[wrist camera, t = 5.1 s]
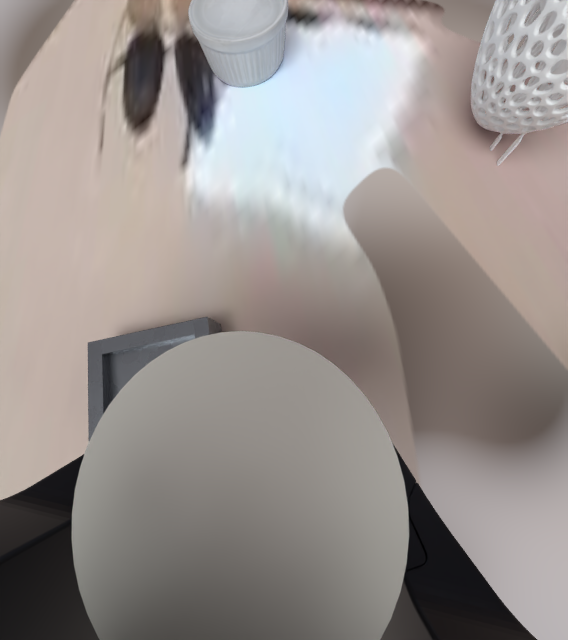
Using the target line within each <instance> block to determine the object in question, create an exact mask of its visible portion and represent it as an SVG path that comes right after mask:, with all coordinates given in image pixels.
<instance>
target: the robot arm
mask: <svg viewBox="0 0 568 640" xmlns="http://www.w3.org/2000/svg"><path fill="white" fill-rule="evenodd" d="M392 444H393V443H392ZM393 446H394V445H393ZM394 449H395V451H396V454H397V456H398V460H399V464H400V468H401V471H402V475H403V479H404V483H405V490H406V496H407V503H408V516H409V542H408V553H407V564H406V569H405V573H404V578H403V583H402V587H401V592H400V595H399V597H398V600H397V603H396V606H395V609H394V612H393V614H392V617H391V620H390V622H389V624H388V625H387V627H386V629H385V631H384V633H383V635H382V637H381V639H380V640H537V639H536V638H535V637H534V636H533V635H532V634H531V633H530V632H529V631H528V630H526V628H525V627H524V626H523V625H522V624H521V623H520V622H519V621H518V620H517V619H516V618H515V616H514V615H513V614H512V613H511V612H510V611H509V609H508V608H507V607H506V606H505V605H504V603H503V602H502V601H501V600H500V599H499V597H498V596H497V594H496V593H495V592H494V590H493V589H492V588H491V587H490V585H489V584H488V582H487V581H486V580H485V578H484V577H483V575H482V574H481V573H480V572H479V570H478V569H477V567H476V566H475V565H474V563H473V562H472V561H471V559H470V558H469V557H468V555H467V554H466V553H465V551H464V550H463V548H462V547H461V546H460V544H459V543H458V542H457V540H456V539H455V538H454V536H453V535H452V534H451V532H450V531H449V530H448V528H447V527H446V525H445V524H444V522H443V521H442V520H441V518H440V517H439V515H438V514H437V512H436V511H435V509H434V508H433V506H432V505H431V503H430V502H429V500H428V499H427V497H426V496H425V494H424V493H423V491H422V489H421V488H420V486H419V484H418V483H416V480H415V478H414V477H413V475H412V473H411V472H410V470H409V469H408V467H407V465H406V464H405V462H404V461H403V459H402V457H401V456H400V454H399V453H398V451H397V450H396V448H395V446H394ZM83 457H84V455H82V456H80V457H79V458H77V459H75V460H74V461H72V462H71V463H69V464H67V465H66V466H64V467H62V468H61V469H59V470H57V471H56V472H54V473H52V474H51V475H49V476H47V477H46V478H44V479H42V480H41V481H39V482H37V483H36V484H34V485H32V486H31V487H29V488H27V489H25V490H23V491H21V492H19V493H17V494H15V495H13V496H10V497H8V498H6V499H3V500H0V640H100V639H99V638H98V636H97V634H96V632H95V629H94V627H93V625H92V623H91V621H90V619H89V617H88V615H87V612H86V609H85V606H84V603H83V600H82V597H81V594H80V591H79V586H78V582H77V577H76V572H75V567H74V560H73V549H72V509H73V501H74V493H75V487H76V483H77V479H78V474H79V470H80V466H81V463H82V460H83Z"/></svg>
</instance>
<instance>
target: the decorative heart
mask: <svg viewBox="0 0 568 640" xmlns="http://www.w3.org/2000/svg"><path fill="white" fill-rule="evenodd" d="M532 8H533V9H532ZM538 9H539V10H538ZM531 10H532V11H531ZM537 10H538V11H537ZM530 11H531V14H530V15H529V18H528V19H527V21H526V22H525V19H526V17H527V15H528V14H529V12H530ZM536 11H537V12H536ZM535 12H536V14H535V15H534V13H535ZM539 14H540V15H539ZM533 15H534V16H533ZM538 15H539V16H538ZM537 17H538V18H537ZM510 18H511V22H510V25H509V28H508V30H507V32H506V29H507V25H508V23H509V20H510ZM536 18H537V19H536ZM535 19H536V20H535ZM534 20H535V21H534ZM513 34H514V39H513V40H512V42H511V43H510V44H509V45H508V39H509V37H510V36H512V35H513ZM525 36H526V37H525ZM524 37H525V40H524V42H523V44H522V46H521V47H520V48H519V49H517V47H518V45H519V43H520V41H521V40H522V39H523V38H524ZM541 41H542V42H541ZM555 45H556V46H555ZM554 47H555V48H554ZM553 48H554V50H553ZM552 50H553V51H552ZM541 51H542V52H541ZM551 51H552V52H551ZM540 52H541V53H540ZM539 53H540V54H539ZM538 54H539V55H538ZM518 55H519V56H518ZM490 56H491V58H490ZM489 58H490V60H489ZM496 59H497V60H496ZM506 59H507V60H508V61H506V63H505V64H504V62H505V60H506ZM519 62H520V64H519V65H518V66H517V67H516V65H517V64H518V63H519ZM538 62H540V64H539V65H538V67H537V69H536V68H535V65H536V63H538ZM503 64H504V66H503ZM523 65H524V66H523ZM515 67H516V68H515ZM525 68H526V70H525ZM485 70H486V73H487V75H486V78H485V80H484V75H485ZM524 70H525V71H524ZM523 71H524V72H523ZM522 72H523V73H522ZM493 76H494V81H493V83H492V84H491V80H492V77H493ZM528 77H531V78H530V80H529V82H528V83H527V85H525V84H524V82H525V80H526V78H528ZM535 77H536V78H535ZM534 79H535V80H534ZM533 80H534V81H533ZM564 82H568V0H496V1H495V3H494V6H493V9H492V11H491V14H490V16H489V19H488V22H487V25H486V27H485V31H484V34H483V37H482V41H481V44H480V47H479V51H478V55H477V58H476V62H475V67H474V72H473V78H472V85H471V108H472V113H473V116H474V118H475V120H476V122H477V123H478V124H479V125H480V126H481V127H483V128H484V129H487V130H490V131H495V132H500V134H499V136H498V137H497V138H496V139H495V141H494V142H493V143H492V144H491V146H490V151H492V150H493V149H494V147H495V146H496V145H497V144H498V142H499V141H500V140H501V137H502V135H503V134H504V133H505V134H521V135H520V136H519V137H518V138H517V139H516V141H515V142H514V143H513V144H512V145H511V146H510V147H509V148H508V149H507V151H506V152H505V153H504V154H503V155H502V156H501V157H500V158H499V160H498V161H497V165H498V166H499V165H500V164H501V163H502V162H503V161H504V160H505V158H506V157H507V156H508V155H509V154H510V153H511V152H512V151H513V150H514V149H515V148H516V147H517V145H518V144H519V143H520V142H521V140H522V138H523V136H524V135H525V134H526V133H530V132H534V131H539V130H545V129H549V128H552V127H555V126H558V125H561V124H564V123H567V122H568V107H566V108H562V107H564V106H568V84H567V85H565V84H564ZM548 83H552V84H550V85H548ZM503 85H504V86H503ZM512 85H515V86H516V88H515V91H514V92H511V91H510V89H511V87H512ZM502 86H503V88H502V90H501V91H500V92H499V93H497V92H498V91H499V90H500V89H501V87H502ZM539 86H540V87H539ZM538 87H539V90H537V88H538ZM483 91H484V96H483V99H482V95H483ZM552 94H553V95H552ZM562 96H563V97H562ZM560 97H562V98H560ZM532 98H533V99H532ZM540 98H541V100H540ZM558 98H560V99H558ZM505 99H506V102H505V103H504V102H503V101H504V100H505ZM557 99H558V100H557ZM539 100H540V101H539ZM492 107H493V108H492ZM519 107H520V108H519ZM503 108H505V109H504V110H503ZM526 108H529V110H528V111H523V110H524V109H526ZM559 108H562V109H559ZM485 111H486V114H485ZM515 117H518V118H515ZM528 117H531V118H528ZM526 118H528V119H526ZM549 118H550V119H549ZM543 119H544V120H543ZM541 120H543V121H541Z"/></svg>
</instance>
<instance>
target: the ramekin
mask: <svg viewBox="0 0 568 640" xmlns="http://www.w3.org/2000/svg"><path fill="white" fill-rule="evenodd" d="M188 12H189V20H190V24H191V27H192V30H193V32H194V34H195V36H196V38H197V39H198V40H199V42H200V45H201V47H202V49H203V52H204V54H205V56H206V58H207V61H208V63H209V65H210V67H211V69H212V71H213V72H214V74H215V75H216V76H217V77H218V78H219V79H220V80H222V81H223V82H224V83H226V84H228V85H231V86H234V87H251V86H255V85H258V84H260V83H263V82H264V81H266V80H268V79H269V78H270V77H271V76H272V75H273V74H274V73H275V72H276V71H277V69H278V67H279V66H280V64H281V62H282V59H283V55H284V45H285V29H286V19H287V15H288V0H192V2H191V3H190V6H189V11H188Z"/></svg>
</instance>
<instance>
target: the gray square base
mask: <svg viewBox="0 0 568 640" xmlns="http://www.w3.org/2000/svg"><path fill="white" fill-rule="evenodd" d="M220 332H221V326H220V324H219V323H217V322H215V321H214V320H212V319H210V318H208V317H204V318H199V319H195V320H190V321H186V322H181V323H176V324H172V325H167V326H163V327H158V328H153V329H149V330H144V331H139V332H135V333H130V334H126V335H121V336H116V337H112V338H107V339H103V340H98V341H93V342H89V343H88V415H89V441H90V439H91V437H92V435H93V432H94V430H95V428H96V426H97V424H98V422H99V421H100V419H101V417H102V416H103V414H104V412H105V411H106V409H107V407H108V406H109V405H110V403H111V402H112V401H113V399H114V398H115V397H116V395H117V394H118V393H119V391H120V390H121V389H122V388H123V387H124V386H125V385H126V384H127V383H128V382H129V380H130V379H131V378H132V377H133V376H134V375H135V374H136V373H138V372H139V371H140V370H141V369H142V368H144V367H145V366H146V365H147V364H148V363H150V362H151V361H152V360H154V359H155V358H157V357H158V356H160V355H162V354H163V353H165V352H166V351H168V350H170V349H172V348H174V347H176V346H178V345H180V344H182V343H184V342H187V341H190V340H193V339H196V338H199V337H202V336H206V335H211V334H216V333H220Z"/></svg>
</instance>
